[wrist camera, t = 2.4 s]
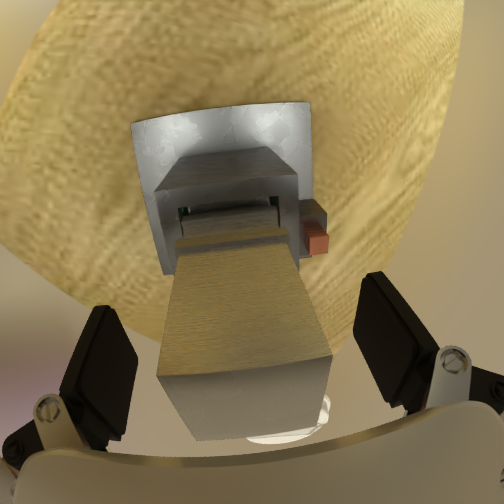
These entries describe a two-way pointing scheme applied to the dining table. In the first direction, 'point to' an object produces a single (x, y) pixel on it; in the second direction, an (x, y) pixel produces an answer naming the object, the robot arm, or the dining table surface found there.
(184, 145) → the stand base
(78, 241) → the dining table surface
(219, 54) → the dining table surface
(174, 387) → the column
